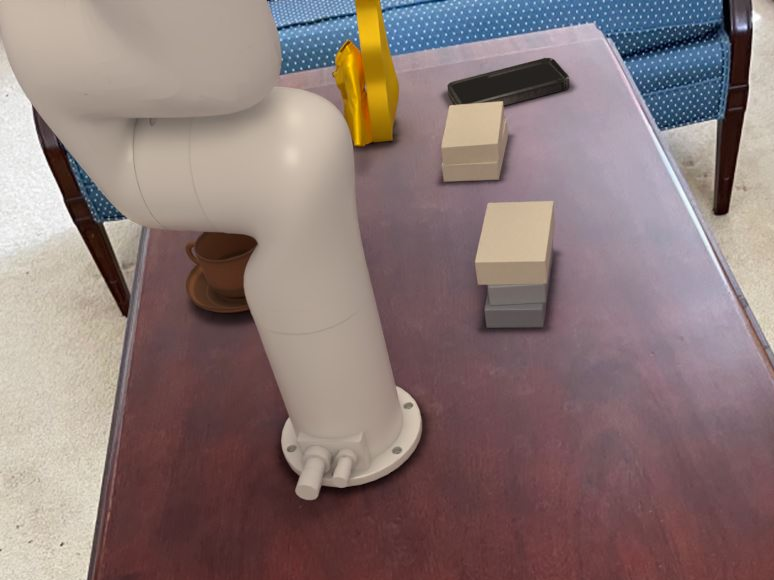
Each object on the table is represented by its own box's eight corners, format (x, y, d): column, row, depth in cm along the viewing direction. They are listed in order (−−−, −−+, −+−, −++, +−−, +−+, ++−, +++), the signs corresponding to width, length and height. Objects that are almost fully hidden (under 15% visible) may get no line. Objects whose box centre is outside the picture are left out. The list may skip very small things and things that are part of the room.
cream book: (546, 283, 88) (545, 260, 86) (477, 285, 89) (474, 262, 88) (554, 223, 95) (553, 200, 93) (490, 225, 96) (487, 202, 94)
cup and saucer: (180, 327, 98) (158, 279, 94) (204, 260, 106) (186, 212, 102) (291, 318, 97) (275, 269, 92) (307, 250, 105) (293, 202, 100)
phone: (571, 79, 122) (461, 107, 120) (572, 88, 122) (462, 116, 121) (551, 55, 127) (445, 82, 125) (551, 64, 128) (446, 90, 126)
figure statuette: (346, 107, 127) (306, -72, 111) (403, 97, 127) (371, -83, 111) (346, 174, 115) (301, -15, 99) (410, 164, 115) (375, -27, 99)
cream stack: (501, 179, 110) (497, 144, 107) (441, 182, 111) (436, 147, 108) (510, 134, 117) (507, 100, 113) (454, 137, 118) (449, 103, 115)
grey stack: (546, 327, 91) (543, 290, 88) (483, 328, 92) (478, 291, 89) (555, 254, 99) (553, 217, 95) (497, 255, 100) (493, 219, 97)
